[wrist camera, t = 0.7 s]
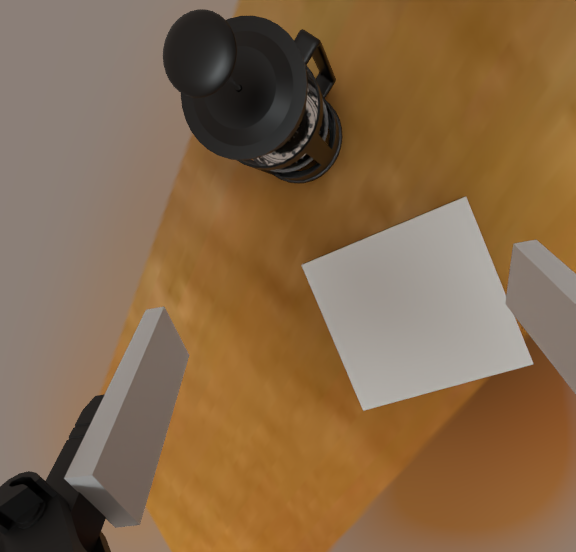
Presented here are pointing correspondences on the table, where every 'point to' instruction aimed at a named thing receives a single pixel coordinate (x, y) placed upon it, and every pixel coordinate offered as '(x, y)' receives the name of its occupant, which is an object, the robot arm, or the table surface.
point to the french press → (254, 93)
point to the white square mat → (417, 308)
